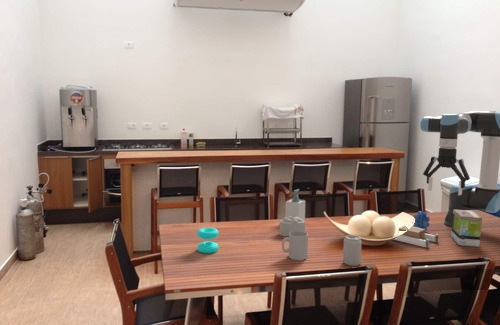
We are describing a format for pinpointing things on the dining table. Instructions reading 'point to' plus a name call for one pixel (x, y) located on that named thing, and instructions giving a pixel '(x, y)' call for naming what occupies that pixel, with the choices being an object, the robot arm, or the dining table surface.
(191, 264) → the dining table surface
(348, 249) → the can
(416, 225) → the grapes
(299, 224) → the lumpy-topped squat cylinder
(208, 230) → the donuts
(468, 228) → the tea box
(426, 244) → the white parallel rail frame
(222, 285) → the dining table surface
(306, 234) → the mug
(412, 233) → the block
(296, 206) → the soap bottle
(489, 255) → the dining table surface
